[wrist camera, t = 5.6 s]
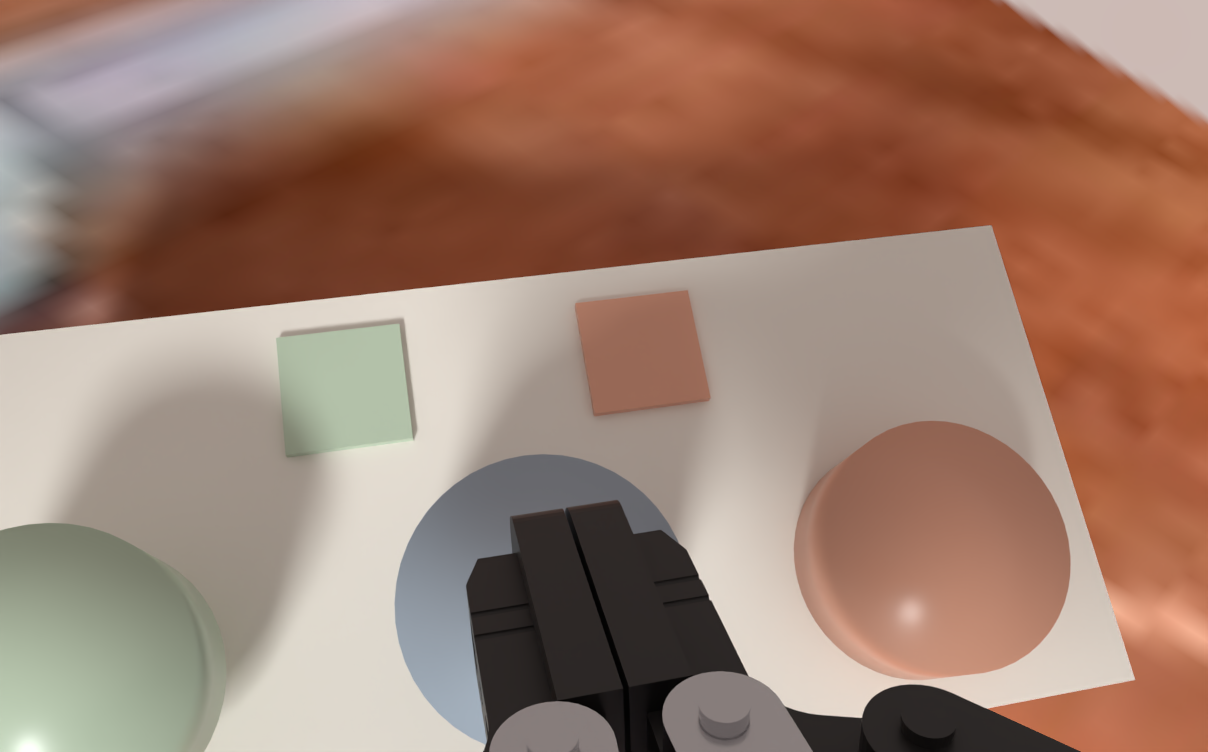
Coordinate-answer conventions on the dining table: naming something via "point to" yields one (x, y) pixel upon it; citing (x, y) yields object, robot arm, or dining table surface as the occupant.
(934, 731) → the robot arm
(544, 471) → the slate button
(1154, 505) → the dining table surface
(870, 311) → the console
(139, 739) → the sage button
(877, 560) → the terracotta button
